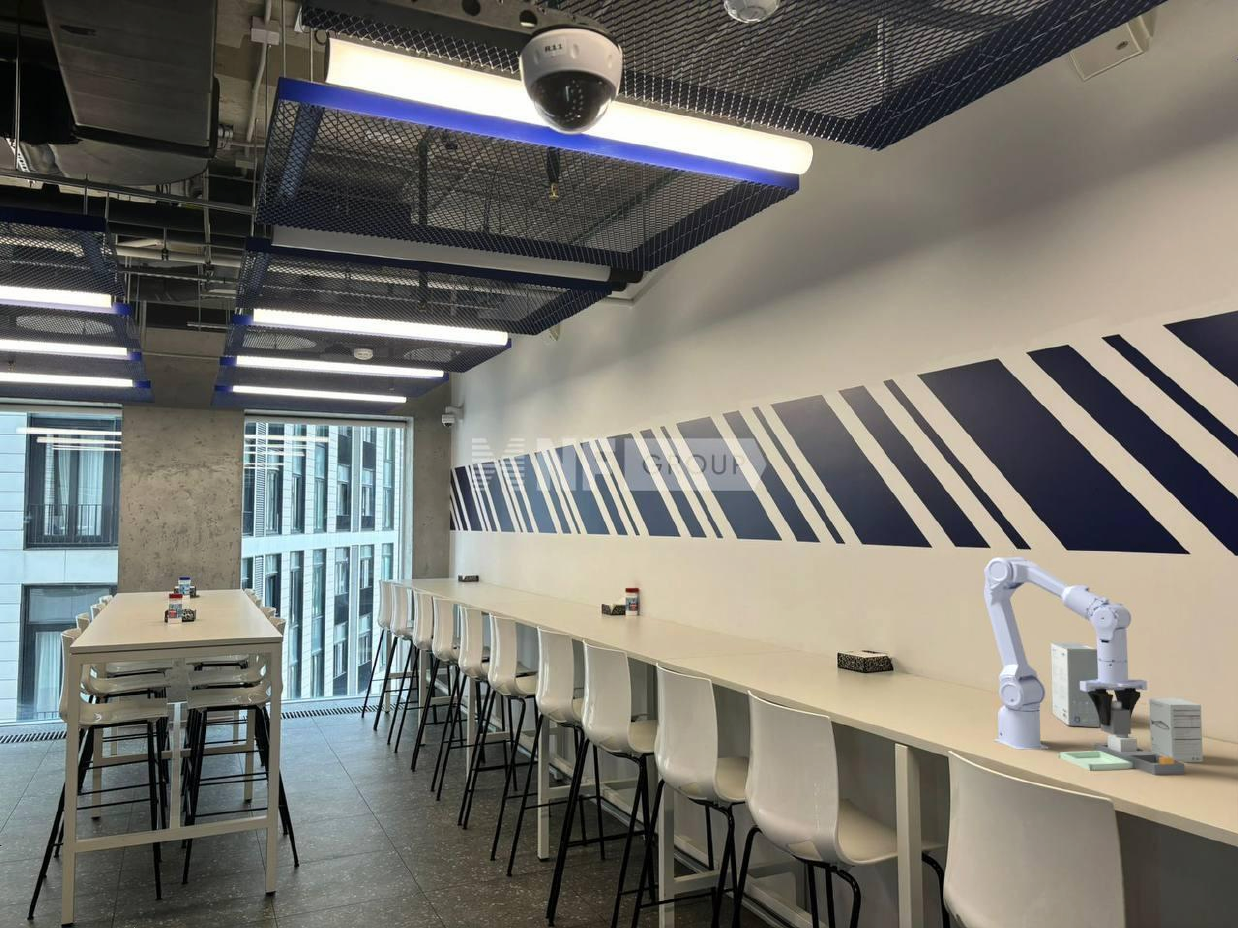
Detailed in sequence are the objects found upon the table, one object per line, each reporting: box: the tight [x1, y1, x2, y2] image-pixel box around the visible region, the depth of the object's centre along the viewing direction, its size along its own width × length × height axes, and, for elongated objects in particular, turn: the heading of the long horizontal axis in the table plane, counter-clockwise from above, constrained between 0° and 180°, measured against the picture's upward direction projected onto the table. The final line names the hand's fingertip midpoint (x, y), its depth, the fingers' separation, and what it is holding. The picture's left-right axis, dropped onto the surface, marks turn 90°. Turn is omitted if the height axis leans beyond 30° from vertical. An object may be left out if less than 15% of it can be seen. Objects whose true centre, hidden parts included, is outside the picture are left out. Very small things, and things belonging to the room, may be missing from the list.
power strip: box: [1093, 742, 1186, 776], centre depth 191 cm, size 18×7×4 cm, turn 9°
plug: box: [1100, 699, 1132, 735], centre depth 190 cm, size 4×4×6 cm
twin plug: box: [1107, 734, 1138, 752], centre depth 196 cm, size 4×4×6 cm
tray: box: [1058, 750, 1134, 771], centre depth 191 cm, size 10×10×2 cm
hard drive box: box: [1050, 641, 1100, 728], centre depth 235 cm, size 16×8×20 cm, turn 168°
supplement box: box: [1148, 697, 1204, 763], centre depth 198 cm, size 7×7×13 cm
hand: (1114, 724), depth 190 cm, fingers closed on plug, 4 cm apart
